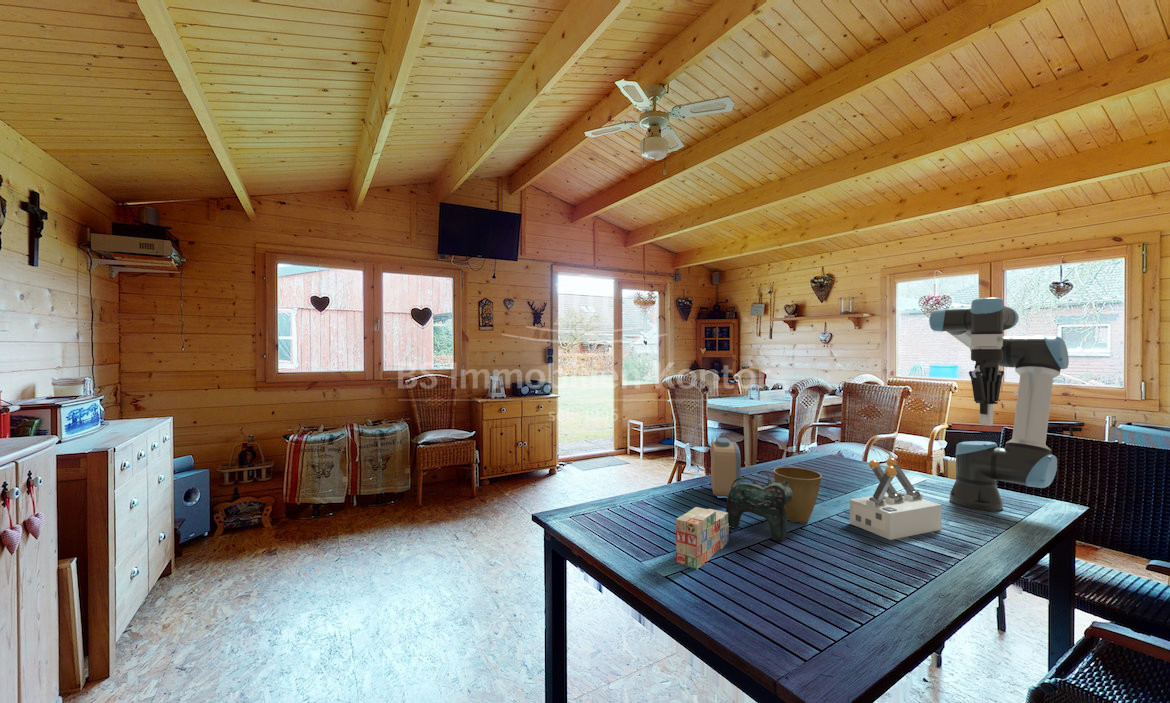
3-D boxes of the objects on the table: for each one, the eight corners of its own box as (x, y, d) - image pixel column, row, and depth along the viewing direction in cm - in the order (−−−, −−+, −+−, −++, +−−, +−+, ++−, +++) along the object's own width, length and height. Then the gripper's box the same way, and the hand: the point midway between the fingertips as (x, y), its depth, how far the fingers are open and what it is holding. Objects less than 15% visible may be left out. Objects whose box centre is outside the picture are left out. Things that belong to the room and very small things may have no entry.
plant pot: (773, 523, 154) (773, 475, 154) (773, 509, 168) (773, 465, 167) (823, 530, 148) (823, 480, 148) (819, 515, 162) (819, 469, 162)
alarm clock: (740, 503, 174) (740, 445, 174) (714, 501, 176) (714, 444, 176) (734, 487, 194) (734, 435, 194) (710, 486, 196) (711, 434, 196)
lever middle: (897, 502, 152) (871, 462, 161) (904, 498, 150) (878, 458, 159) (889, 503, 151) (864, 463, 160) (897, 499, 149) (870, 458, 158)
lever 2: (915, 499, 155) (889, 460, 164) (922, 495, 153) (895, 456, 162) (908, 500, 154) (882, 461, 163) (915, 496, 152) (888, 456, 160)
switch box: (898, 514, 162) (899, 487, 162) (941, 529, 149) (941, 499, 149) (848, 523, 154) (848, 494, 154) (889, 540, 141) (889, 508, 141)
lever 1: (874, 498, 151) (892, 463, 145) (882, 505, 148) (901, 470, 142) (866, 500, 150) (884, 464, 144) (875, 507, 147) (893, 471, 141)
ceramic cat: (793, 539, 142) (793, 473, 141) (785, 545, 137) (785, 478, 137) (731, 522, 155) (731, 462, 155) (722, 528, 150) (722, 466, 150)
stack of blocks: (709, 538, 143) (709, 498, 143) (729, 543, 139) (729, 502, 139) (675, 563, 126) (675, 518, 126) (696, 570, 122) (697, 523, 122)
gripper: (987, 348, 138) (986, 428, 138) (1014, 348, 142) (1014, 425, 142) (959, 348, 145) (958, 424, 145) (986, 348, 149) (985, 421, 149)
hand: (986, 424), depth 144 cm, fingers closed
